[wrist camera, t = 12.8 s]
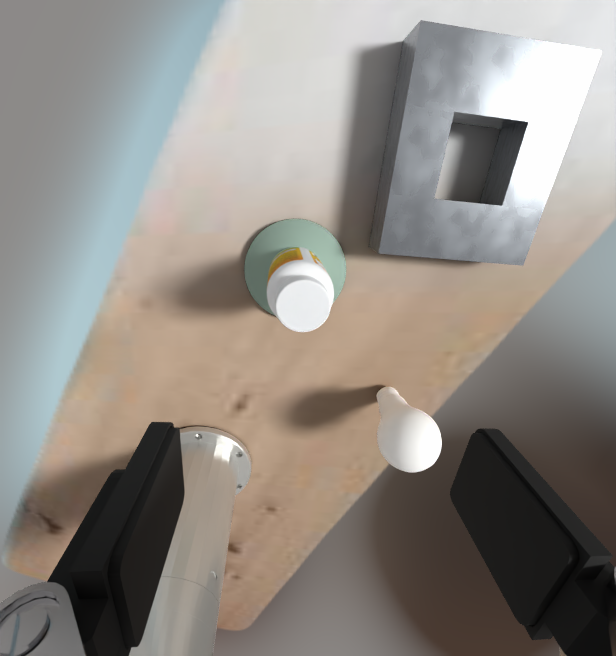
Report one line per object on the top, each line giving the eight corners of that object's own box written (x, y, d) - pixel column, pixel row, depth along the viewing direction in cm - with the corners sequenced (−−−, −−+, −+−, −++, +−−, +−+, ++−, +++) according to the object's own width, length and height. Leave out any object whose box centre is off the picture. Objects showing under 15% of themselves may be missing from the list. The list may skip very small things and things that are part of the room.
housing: (499, 257, 33) (523, 265, 30) (368, 246, 32) (378, 253, 28) (563, 66, 27) (602, 50, 24) (403, 40, 25) (420, 20, 22)
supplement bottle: (262, 292, 32) (257, 332, 23) (276, 238, 30) (275, 260, 21) (314, 305, 33) (327, 348, 24) (330, 254, 31) (351, 281, 22)
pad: (338, 320, 35) (339, 322, 34) (244, 314, 34) (243, 316, 33) (351, 223, 31) (353, 224, 30) (245, 213, 30) (245, 214, 29)
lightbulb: (387, 418, 41) (421, 495, 31) (349, 398, 39) (373, 471, 29) (419, 384, 39) (467, 453, 29) (382, 361, 37) (419, 426, 27)
